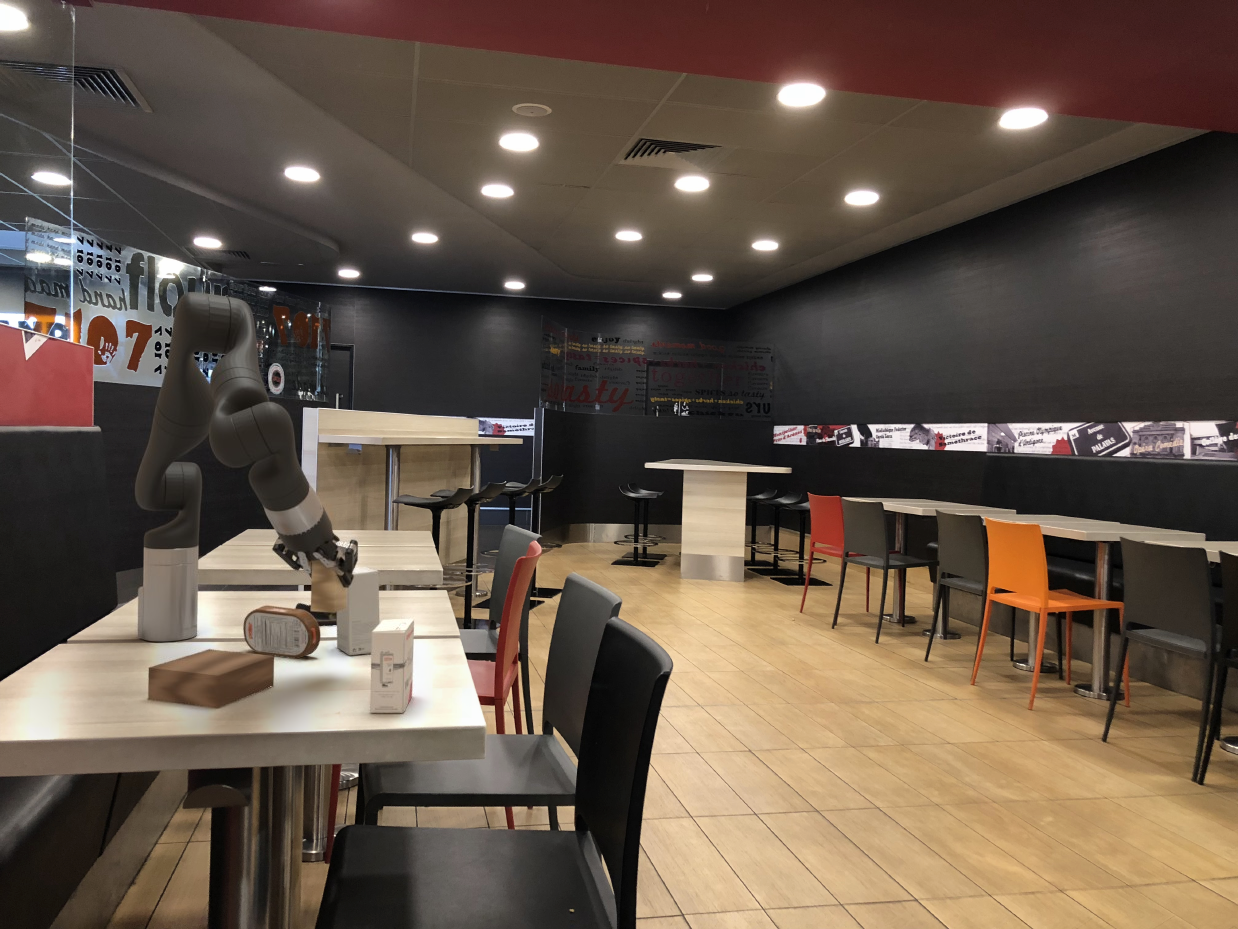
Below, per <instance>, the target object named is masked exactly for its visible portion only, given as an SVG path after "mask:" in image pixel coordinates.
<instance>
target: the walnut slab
mask: <svg viewBox="0 0 1238 929" xmlns="http://www.w3.org/2000/svg"><path fill="white" fill-rule="evenodd" d="M274 676H275V656H273V655H266V654H260V653H251V652H249V653H248V652H238V651H229V650H220V649H211V648H208V649H205V650H202V651H199V652H196V653H193V654H189V655H185V656H182V657H179V658H176V659H172V660H169V661H166V662H163V663H160V664H155V665H153V666H150V667H148V679H147V680H148V682H147V683H148V685H147V686H148V687H147V688H148V689H147V695H148V696H147V700H149V701H156V702H157V701H158V702H163V703H171V704H179V705H180V704H181V705H189V706H196V707H197V706H198V707H204V708H210V709H220V708H222V707H225V706H227V705H230V704H232V703H235V702H237V700H238V701H240V700H243V699H245V698H247V696H248V697H250V696H253V695H255V694H257V692H258V693H260V692H262V691H261V690H263V691H265V690H267V689H266V688H268V687H270V686H273V685H275V683H274V682H275V681H274V679H275V678H274ZM273 687H274V686H273ZM270 688H271V687H270ZM264 689H265V690H264ZM268 689H269V688H268ZM259 691H260V692H259ZM254 693H255V694H254ZM252 694H253V695H252ZM242 698H243V699H242Z"/></svg>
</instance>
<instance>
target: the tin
mask: <svg viewBox="0 0 1238 929" xmlns="http://www.w3.org/2000/svg"><path fill="white" fill-rule="evenodd" d="M242 628H243V630H242V631H243V636H244V637H243V638H244V641H245V643H246V645H247V646H248V647H249V648H250V649H251V650H252V651H253V652H254V653H256V654H260V655H266V654H267V655H269V656H273V655H276V656H275V657H280V656H283V657H282V658H287V657H289V658H288V659H300V658H303V657H305V656H309V655H311V654H313V653H314V652H315V651H316V650H317V649H318V648H319V645H320V642H321V636H322V635H321V629H320V626H319V625H318V623H317V621H316V619H315V618H314V617H313V616H312V615H311V614H310V613H309V612H307V611H305V610H301V609H294V607H293V608H292V607H291V608H290V607H282V606H275V605H263V606H260V607H258V608H256V609H253V610H251V611H249V613H247V614H246V616H245V617H244V620H243V627H242Z"/></svg>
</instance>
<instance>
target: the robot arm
mask: <svg viewBox="0 0 1238 929" xmlns="http://www.w3.org/2000/svg"><path fill="white" fill-rule="evenodd" d="M173 317H174V318H173V322H172V323H173V324H172V329H171V330H172V332H171V338H170V346H169V351H168V359H167V364H166V367H165V368H166V369H165V371H164V376H163V379H162V383H161V387H160V389H159V393H158V397H157V400H156V404H155V409H154V414H153V419H152V425H151V430H150V434H149V440H148V444H147V447H146V449H145V451H144V455H143V457H142V460H141V462H140V465H139V468H138V472H137V475H136V478H135V483H134V485H135V486H134V496H135V501H136V503H137V505H138V507H140V508H141V509H143V510H146V511H152V512H164V511H165V512H166V511H168V512H169V511H170V512H171V511H178V515H177V516H176V517H175V518H174V519H173V520H171V521H170V522H168V523H166V524H164V525H161V526H159V527H156V528H153V529H150V530H147V531H146V532H145V533H144V537H143V575H142V576H143V580H142V581H143V585H142V586H139V588H138V589H137V590H138V591H137V638H138V639H142V640H144V641H149V642H173V641H174V642H175V641H182V640H187V639H191V638H194V637H196V636H197V635H198V615H199V614H198V612H199V609H198V607H199V606H198V604H199V603H198V602H199V545H200V544H199V542H200V539H199V538H200V517H201V505H202V504H201V503H202V492H203V490H202V489H203V478H202V476H203V475H202V471H201V469H200V466H199V465H198V464H197V463H195V462H189V461H187V462H186V461H176V460H178V459H179V458H181V457H182V456H184V455H186V454H188V453H189V452H190V451H191V450H193V449H194V448H195V447H197V446H199V444H201V443H202V442H203V441H204V440H205V439H206V438H207V437H208V438H209V445H210V448H211V451H212V453H213V455H214V456H215V458H216V459H217V460H218V462H220V463H221V464H223V465H224V466H227V467H230V468H233V469H234V468H242V467H245V466H246V467H247V466H248V465H251V464H253V463H254V464H253V465H252V466H251V468H250V469H249V473H248V481H249V485H250V486H251V489H252V490H253V491H254V493H255V495H256V497H257V498H258V500H259V502H260V503H261V505H262V507H263V508H264V512H265V515H266V517H267V518H268V520H269V522H270V523H271V525H272V527H273V529H274V531H275V532H276V533H277V534H276V535H278V537H277V539H276V541H275V542H274V545H273V546H272V548H271V549H272V552H274V553H275V554H276V555H277V556H278V557H279V558H280V559H282V561H284V562H285V563H286V564H287V565H288V566H289V567H290V568H291V569H292V570H294V571H299V570H300V569H301V570H302V571H303V572H304V573H305V574H307V575H309V577H310V579H311V580H312V561H314V560H319V561H321V562H322V563H323V564H324V565H325V566H326V567H327V568H332V569H333V570H334V572H335V573H336V574H337V576H338V578H339V580H340V582H341V583H342V585H343V587H344V588H349V586H350V585H351V583H352V581H353V579H354V575H353V574H352V573H353V570H354V568H356V565H357V563H358V561H359V542H358V541H357V540H356V539H350V541H349V542H345V541H342V540H340V538H339V536H338V535H337V534H335V532H334V531H333V530H334V529H333V524H332V521H331V519H330V517H329V515H328V513H327V511H326V509H325V507H324V505H323V504H322V501H321V500H320V498H319V496H318V493H317V492H316V491H315V489H314V488H313V486H312V485H311V484H310V482H309V481H308V478H307V477H306V475H305V473H304V471H303V469H302V467H301V465H300V463H299V459H298V455H297V451H296V440H295V437H296V436H295V431H294V424H293V421H292V418H291V415H290V413H289V412H288V411H287V410H286V409H285V408H284V407H283V405H280V404H279V403H276V402H274V401H270V398H269V395H268V391H267V389H266V386H265V383H264V381H263V377H262V376H261V372H260V366H259V354H258V342H257V334H256V325H255V324H256V323H255V319H254V318H255V317H254V315H253V312H252V309H251V307H250V305H249V304H248V303H247V302H246V301H244V300H242V299H239V298H236V297H231V296H224V295H218V294H212V293H207V292H205V293H204V292H196V291H189V292H185V293H183V295H182V296H181V297H180V298H179V300H178V302H177V305H176V308H175V312H174V316H173ZM196 352H199V353H200V352H201V353H209V354H216V355H217V354H218V355H223V357H221V358H220V359H219V360H218V361H217V362H216V363H215V366H214V367H213V369H212V371H211V374H210V377H209V378H210V379H209V380H208V378H207V377H206V375H205V374H204V373H203V372H202V370H201V369H200V367H199V365H198V363H197V361H196V359H195V356H194V353H196ZM293 556H294V557H295V560H294V557H293ZM338 561H339V562H340V564H339V565H338Z"/></svg>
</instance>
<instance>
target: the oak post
mask: <svg viewBox="0 0 1238 929" xmlns="http://www.w3.org/2000/svg"><path fill="white" fill-rule="evenodd" d="M339 564H340V562H339V561H338V565H339ZM310 583H311V585H310V586H311V589H310V605H311V611H317V612H331V613H335V612H337V611H340V610H343V609H345V608H346V600H347V588H344V587H343V585H342V583H341V582H340V580H339V578H338V576H337V574H336V573H335V572H334V570H333V569H332V568H327V567H326V566H325V565H324V564H323V563H322V562H321V561H319V560H314V561H312V579H311V582H310Z"/></svg>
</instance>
